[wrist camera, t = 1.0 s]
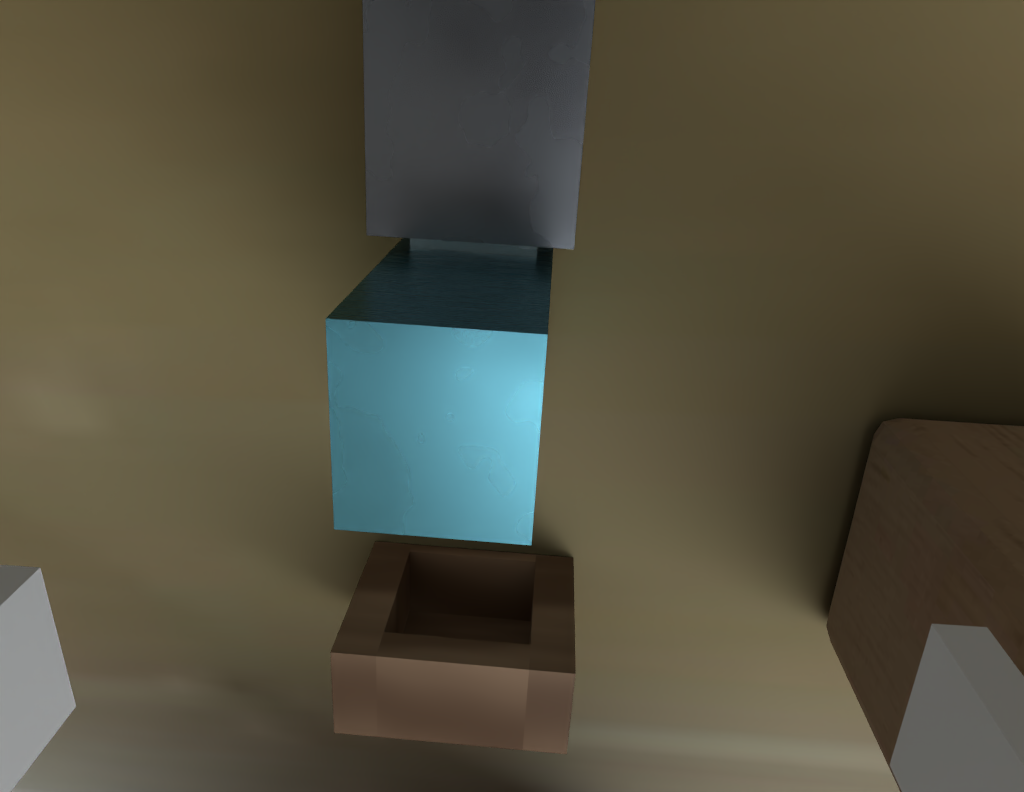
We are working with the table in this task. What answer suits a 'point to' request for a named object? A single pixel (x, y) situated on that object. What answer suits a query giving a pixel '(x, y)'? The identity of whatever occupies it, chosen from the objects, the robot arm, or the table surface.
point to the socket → (458, 648)
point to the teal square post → (440, 391)
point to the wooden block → (928, 556)
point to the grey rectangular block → (475, 118)
